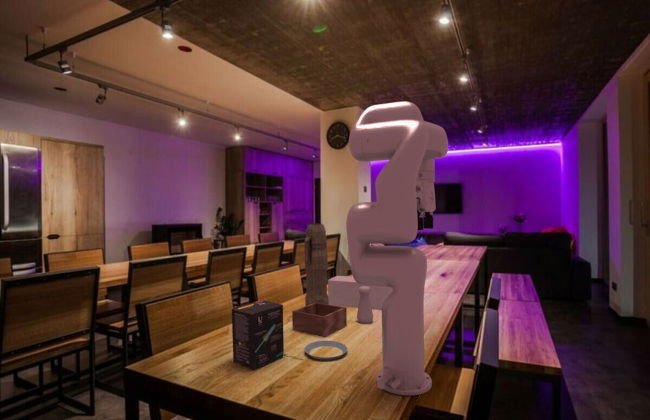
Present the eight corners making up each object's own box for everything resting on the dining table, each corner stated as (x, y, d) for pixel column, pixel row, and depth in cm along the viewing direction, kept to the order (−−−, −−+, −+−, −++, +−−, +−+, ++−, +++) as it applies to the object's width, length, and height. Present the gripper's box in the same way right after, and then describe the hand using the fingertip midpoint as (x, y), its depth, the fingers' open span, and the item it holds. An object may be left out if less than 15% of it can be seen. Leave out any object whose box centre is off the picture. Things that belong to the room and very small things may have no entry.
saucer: (354, 353, 102) (354, 345, 102) (332, 369, 92) (332, 360, 92) (320, 345, 108) (319, 337, 108) (296, 359, 98) (295, 351, 98)
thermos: (298, 317, 136) (297, 224, 136) (315, 309, 146) (313, 222, 146) (318, 320, 131) (317, 224, 131) (334, 312, 142) (333, 223, 142)
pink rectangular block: (409, 306, 149) (408, 280, 149) (404, 313, 140) (403, 285, 140) (337, 299, 162) (336, 275, 162) (328, 305, 152) (327, 280, 152)
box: (324, 339, 112) (324, 317, 112) (292, 332, 119) (292, 311, 119) (346, 328, 122) (346, 307, 122) (315, 321, 130) (315, 302, 130)
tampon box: (262, 349, 105) (261, 299, 105) (285, 357, 99) (284, 303, 99) (231, 361, 97) (230, 307, 97) (253, 371, 91) (252, 313, 91)
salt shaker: (372, 326, 123) (372, 288, 123) (356, 325, 124) (355, 288, 124) (373, 321, 129) (373, 285, 129) (357, 320, 130) (357, 284, 130)
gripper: (425, 175, 110) (425, 231, 110) (442, 178, 124) (442, 228, 124) (401, 176, 114) (402, 230, 114) (420, 179, 128) (421, 227, 129)
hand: (423, 229), depth 119 cm, fingers open, 9 cm apart
